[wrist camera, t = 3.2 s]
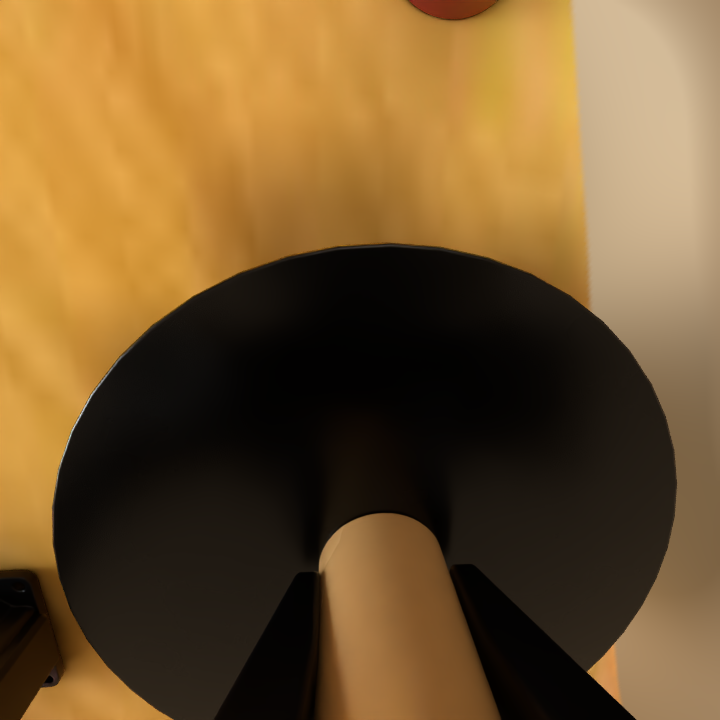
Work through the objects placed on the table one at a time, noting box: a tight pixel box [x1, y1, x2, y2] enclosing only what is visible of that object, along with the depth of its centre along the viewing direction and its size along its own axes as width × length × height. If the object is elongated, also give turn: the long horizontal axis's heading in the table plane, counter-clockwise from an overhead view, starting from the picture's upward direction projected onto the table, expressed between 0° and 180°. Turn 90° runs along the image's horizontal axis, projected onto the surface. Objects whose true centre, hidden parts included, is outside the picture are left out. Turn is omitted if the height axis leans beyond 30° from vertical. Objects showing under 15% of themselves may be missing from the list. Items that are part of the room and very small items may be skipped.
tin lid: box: [52, 242, 677, 720], centre depth 6 cm, size 12×12×6 cm
